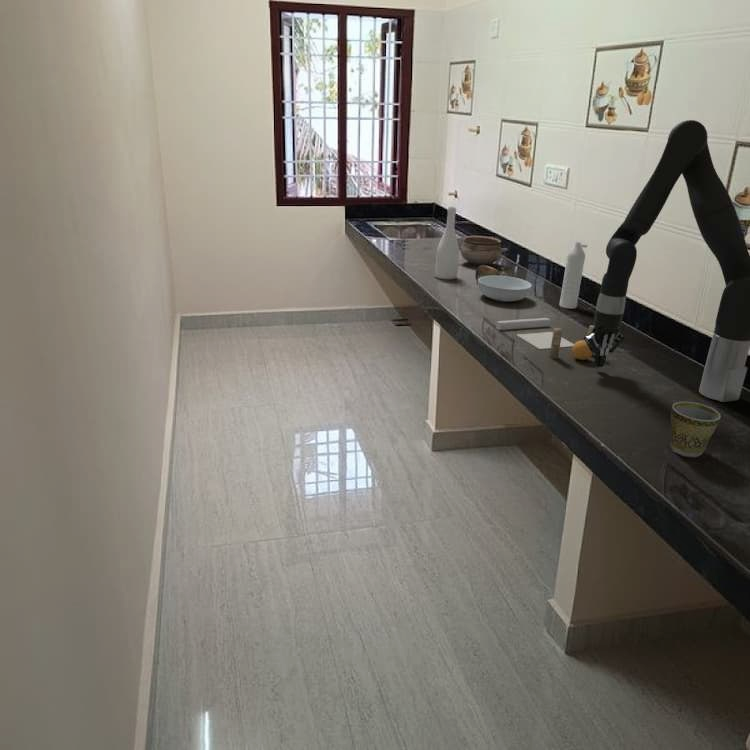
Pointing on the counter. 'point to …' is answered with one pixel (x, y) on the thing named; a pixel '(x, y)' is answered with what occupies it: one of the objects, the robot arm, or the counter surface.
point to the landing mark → (543, 340)
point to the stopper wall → (522, 323)
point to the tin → (485, 271)
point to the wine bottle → (448, 250)
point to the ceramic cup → (692, 427)
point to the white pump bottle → (572, 276)
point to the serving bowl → (504, 288)
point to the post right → (591, 331)
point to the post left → (555, 343)
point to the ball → (581, 350)
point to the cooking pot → (481, 250)
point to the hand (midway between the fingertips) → (598, 366)
